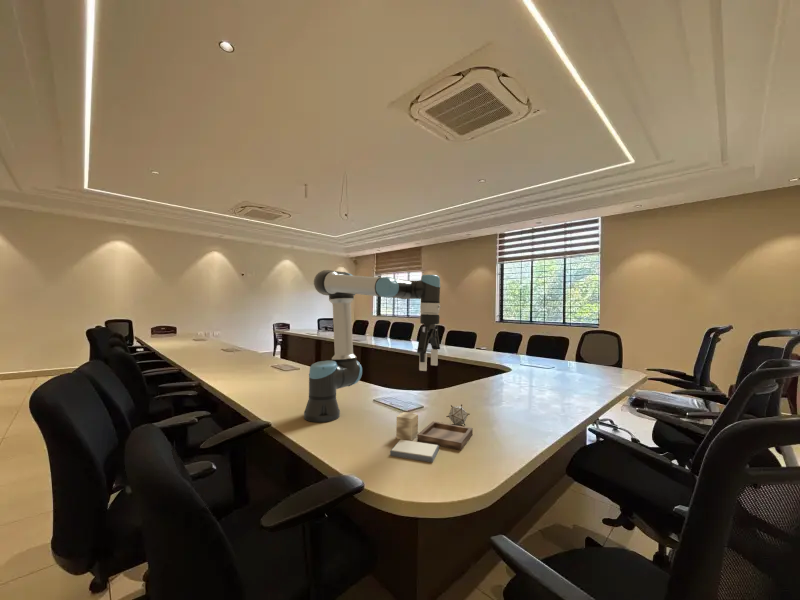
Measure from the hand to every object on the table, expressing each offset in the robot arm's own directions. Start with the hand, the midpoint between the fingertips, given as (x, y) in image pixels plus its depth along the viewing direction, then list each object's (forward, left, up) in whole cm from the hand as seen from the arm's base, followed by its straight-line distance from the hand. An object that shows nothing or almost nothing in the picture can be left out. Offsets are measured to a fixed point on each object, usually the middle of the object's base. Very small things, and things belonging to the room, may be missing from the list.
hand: (428, 367), depth 132 cm
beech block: (-4, -10, -24) cm, 27 cm away
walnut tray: (+9, -4, -24) cm, 26 cm away
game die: (+9, +12, -25) cm, 29 cm away
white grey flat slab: (+4, -21, -24) cm, 32 cm away
